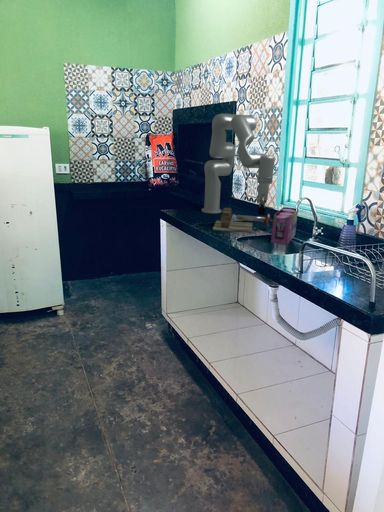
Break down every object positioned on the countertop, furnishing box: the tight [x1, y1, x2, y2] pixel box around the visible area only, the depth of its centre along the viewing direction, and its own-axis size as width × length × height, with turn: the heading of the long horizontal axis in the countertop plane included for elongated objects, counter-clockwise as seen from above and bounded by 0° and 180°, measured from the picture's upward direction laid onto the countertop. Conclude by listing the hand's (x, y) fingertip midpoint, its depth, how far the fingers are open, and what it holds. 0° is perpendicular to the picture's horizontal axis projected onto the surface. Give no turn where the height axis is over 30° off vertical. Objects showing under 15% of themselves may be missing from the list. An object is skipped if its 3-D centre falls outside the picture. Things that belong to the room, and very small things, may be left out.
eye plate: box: [212, 207, 253, 234], centre depth 217 cm, size 18×20×9 cm
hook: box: [235, 213, 274, 227], centre depth 215 cm, size 6×19×6 cm, turn 81°
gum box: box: [270, 206, 299, 246], centre depth 198 cm, size 24×8×14 cm, turn 157°
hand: (261, 212), depth 214 cm, fingers open, 9 cm apart
